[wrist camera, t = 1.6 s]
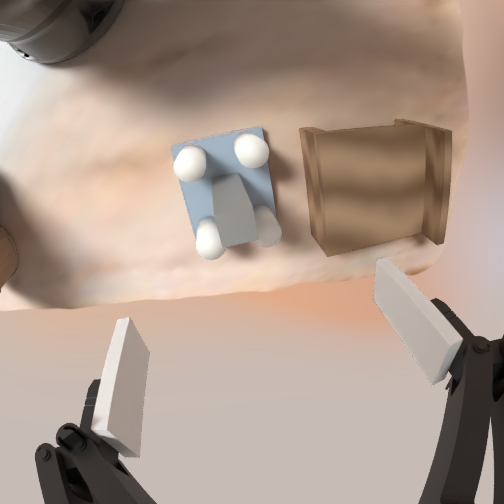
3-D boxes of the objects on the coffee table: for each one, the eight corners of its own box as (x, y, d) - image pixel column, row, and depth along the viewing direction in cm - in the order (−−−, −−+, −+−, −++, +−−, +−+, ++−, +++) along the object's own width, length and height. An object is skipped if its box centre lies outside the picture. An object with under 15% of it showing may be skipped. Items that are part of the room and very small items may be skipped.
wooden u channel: (299, 128, 32) (331, 139, 24) (403, 119, 32) (451, 130, 24) (311, 234, 39) (339, 273, 31) (404, 213, 39) (443, 243, 31)
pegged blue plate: (172, 145, 31) (153, 170, 20) (259, 125, 31) (288, 140, 20) (197, 238, 37) (195, 300, 26) (275, 220, 37) (304, 274, 26)
